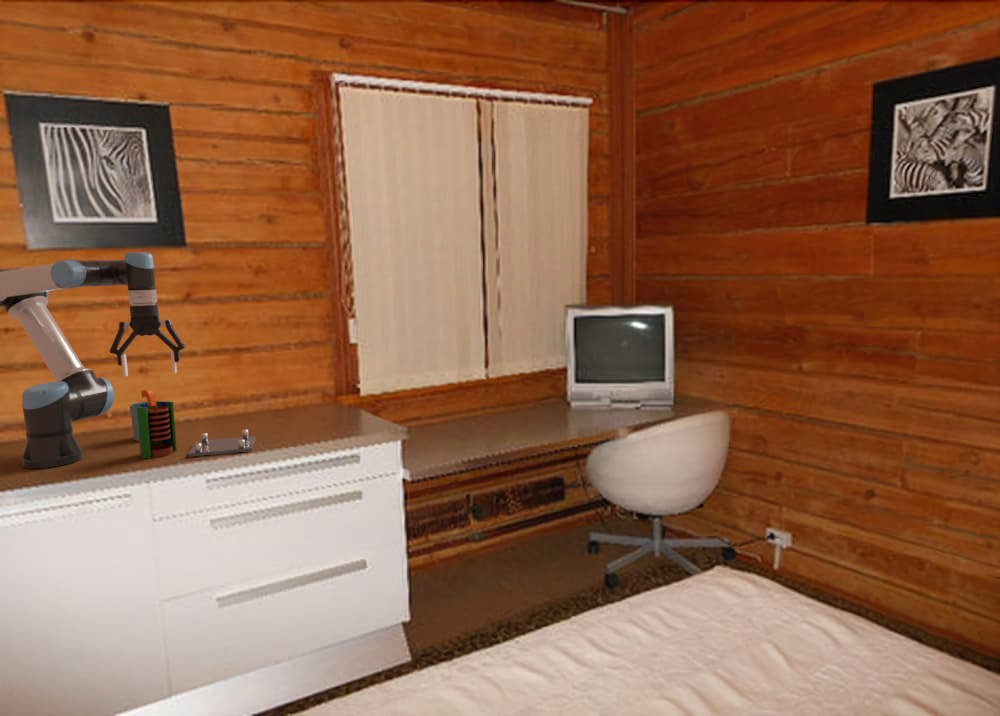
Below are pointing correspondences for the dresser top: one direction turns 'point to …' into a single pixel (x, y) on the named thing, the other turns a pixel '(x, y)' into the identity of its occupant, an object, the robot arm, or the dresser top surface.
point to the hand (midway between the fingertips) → (150, 374)
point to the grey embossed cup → (135, 419)
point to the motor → (156, 427)
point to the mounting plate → (222, 445)
